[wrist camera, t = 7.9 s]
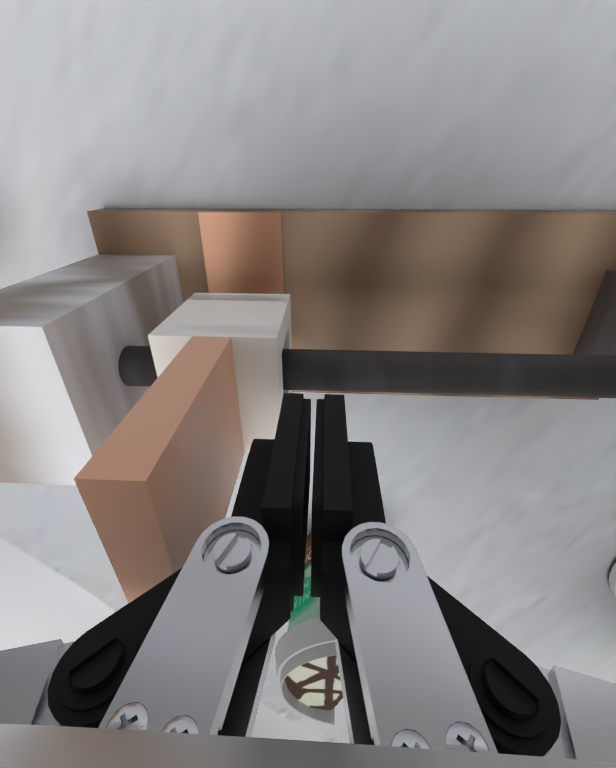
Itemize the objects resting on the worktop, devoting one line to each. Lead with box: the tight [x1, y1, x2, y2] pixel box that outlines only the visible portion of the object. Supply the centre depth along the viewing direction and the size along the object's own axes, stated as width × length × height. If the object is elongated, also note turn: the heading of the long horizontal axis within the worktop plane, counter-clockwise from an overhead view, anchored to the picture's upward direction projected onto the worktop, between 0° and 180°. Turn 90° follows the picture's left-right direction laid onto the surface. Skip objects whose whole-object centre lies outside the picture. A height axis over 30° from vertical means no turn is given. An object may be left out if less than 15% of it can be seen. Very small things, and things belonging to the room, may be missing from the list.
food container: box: [275, 532, 343, 725], centre depth 28 cm, size 12×6×10 cm, turn 161°
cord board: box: [0, 209, 616, 485], centre depth 16 cm, size 28×10×12 cm, turn 90°
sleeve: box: [74, 293, 293, 603], centre depth 12 cm, size 4×5×11 cm
